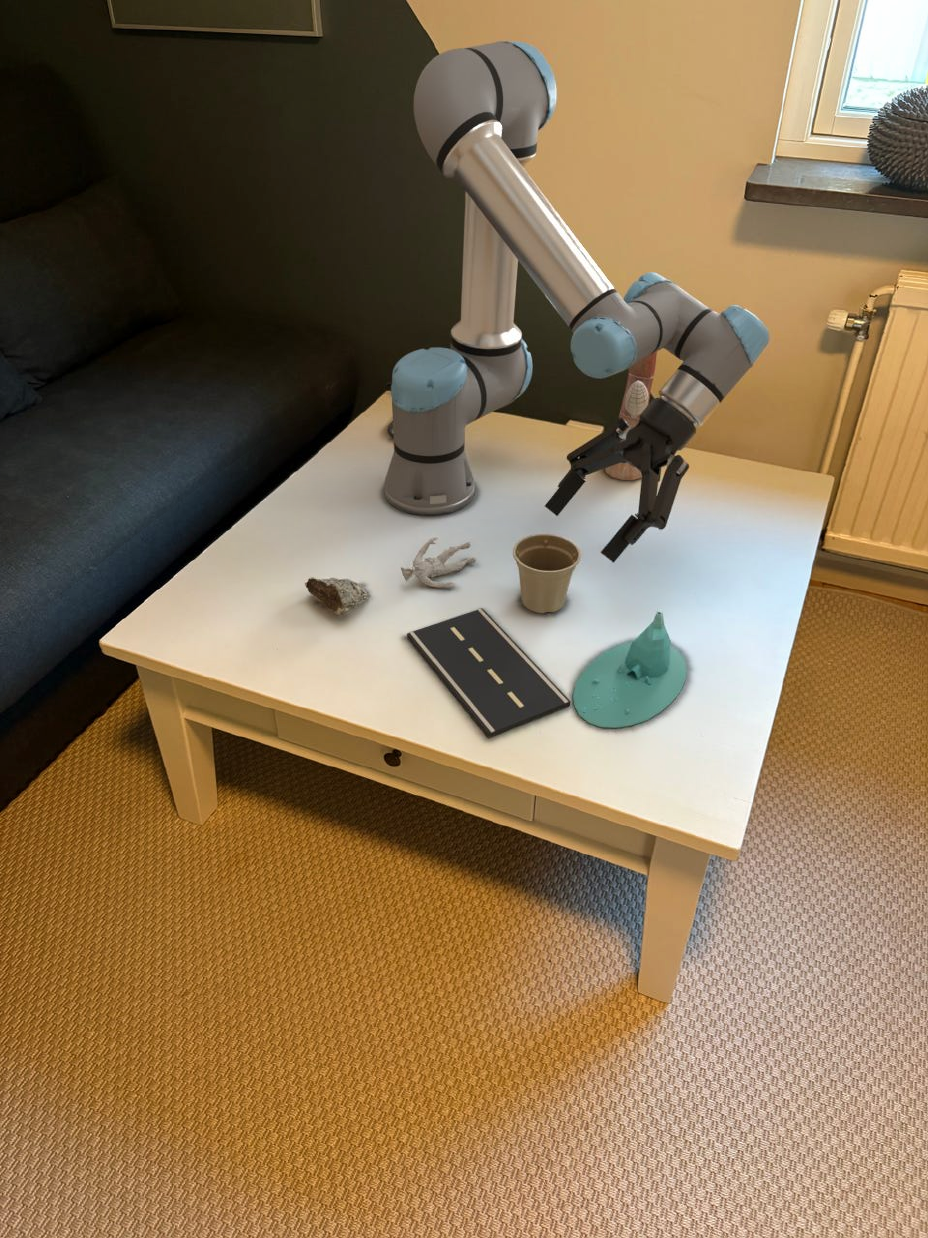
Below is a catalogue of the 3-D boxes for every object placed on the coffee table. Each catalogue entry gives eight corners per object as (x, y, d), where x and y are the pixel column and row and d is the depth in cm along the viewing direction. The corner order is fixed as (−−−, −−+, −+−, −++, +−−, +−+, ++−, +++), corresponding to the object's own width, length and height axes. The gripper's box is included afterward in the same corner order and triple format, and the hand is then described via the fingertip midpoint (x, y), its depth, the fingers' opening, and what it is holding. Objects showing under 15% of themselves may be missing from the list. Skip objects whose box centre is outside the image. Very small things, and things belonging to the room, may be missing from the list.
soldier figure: (484, 578, 143) (431, 590, 134) (462, 589, 146) (408, 601, 137) (466, 530, 144) (412, 539, 135) (445, 542, 147) (390, 551, 138)
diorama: (548, 701, 121) (553, 649, 115) (630, 627, 133) (638, 577, 128) (630, 746, 115) (640, 693, 109) (709, 663, 127) (720, 612, 122)
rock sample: (393, 576, 135) (345, 554, 129) (378, 627, 133) (329, 607, 128) (350, 575, 142) (303, 554, 137) (335, 624, 141) (287, 604, 135)
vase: (633, 486, 164) (657, 314, 145) (595, 474, 167) (614, 305, 148) (658, 461, 171) (684, 295, 152) (621, 450, 174) (642, 286, 155)
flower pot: (571, 625, 133) (577, 575, 128) (505, 616, 134) (507, 566, 129) (578, 587, 140) (584, 538, 135) (515, 579, 142) (518, 530, 136)
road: (406, 637, 130) (406, 632, 130) (482, 612, 135) (482, 607, 134) (488, 738, 115) (488, 733, 115) (570, 705, 120) (570, 700, 119)
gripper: (752, 464, 124) (646, 589, 127) (633, 392, 141) (543, 504, 144) (729, 436, 118) (619, 568, 122) (608, 364, 135) (515, 482, 139)
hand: (577, 533), depth 133 cm, fingers open, 13 cm apart
